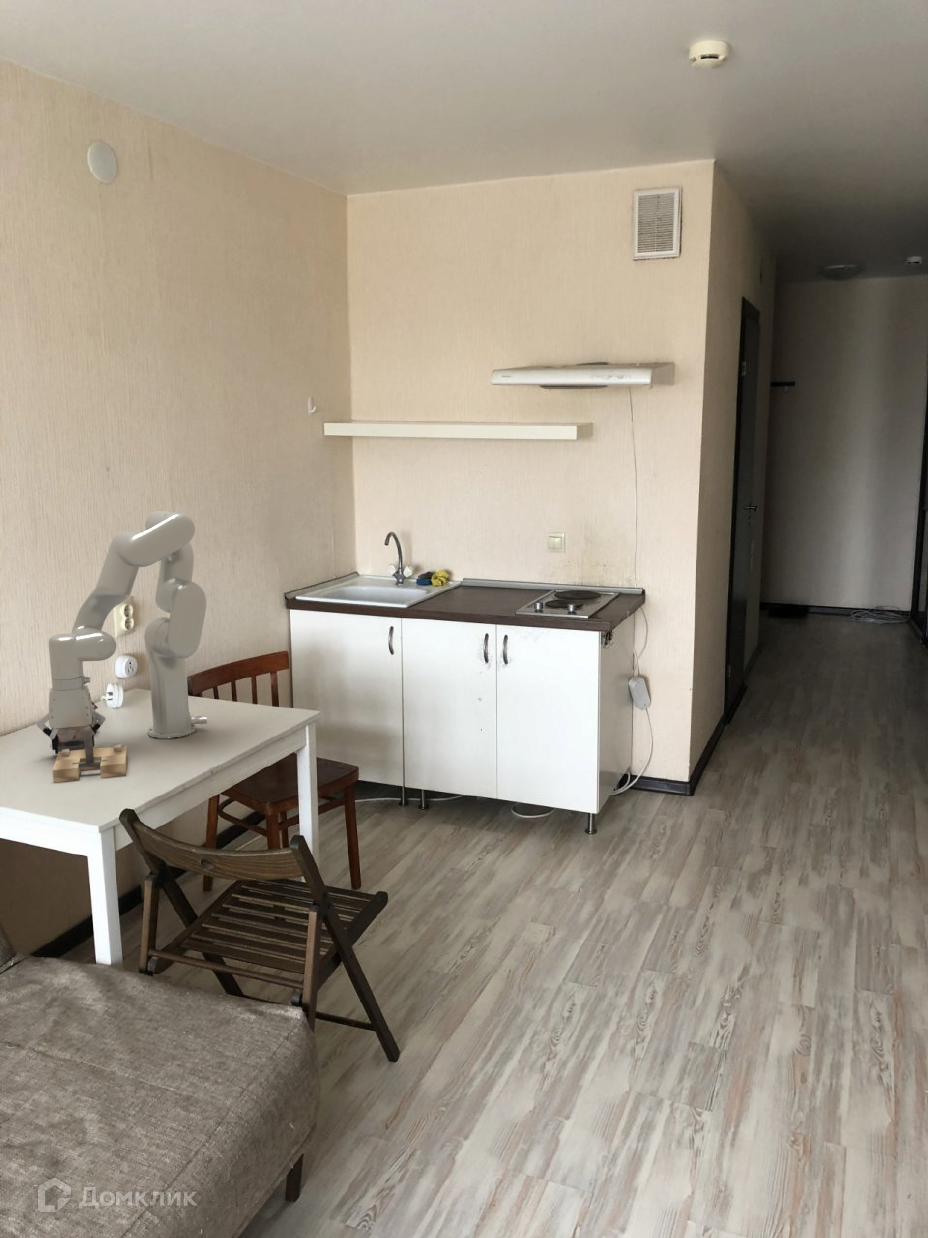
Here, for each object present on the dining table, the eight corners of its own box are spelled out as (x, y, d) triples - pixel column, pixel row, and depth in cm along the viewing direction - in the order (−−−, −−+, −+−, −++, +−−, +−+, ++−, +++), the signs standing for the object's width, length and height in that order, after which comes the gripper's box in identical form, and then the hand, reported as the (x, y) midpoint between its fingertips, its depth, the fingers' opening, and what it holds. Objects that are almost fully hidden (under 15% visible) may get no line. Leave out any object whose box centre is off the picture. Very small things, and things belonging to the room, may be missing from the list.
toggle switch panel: (127, 756, 249) (124, 714, 247) (125, 775, 236) (122, 731, 233) (59, 763, 244) (55, 720, 242) (53, 782, 231) (49, 737, 229)
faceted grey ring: (90, 748, 255) (89, 737, 255) (88, 757, 248) (87, 746, 248) (60, 751, 253) (59, 740, 252) (57, 760, 246) (56, 749, 246)
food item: (80, 747, 257) (77, 710, 255) (49, 747, 257) (46, 710, 255) (100, 731, 270) (97, 696, 268) (71, 731, 270) (68, 696, 269)
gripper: (105, 677, 253) (110, 743, 256) (32, 682, 248) (38, 749, 252) (104, 684, 246) (109, 752, 249) (28, 689, 241) (35, 759, 245)
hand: (73, 750), depth 250 cm, fingers closed on faceted grey ring, 7 cm apart
